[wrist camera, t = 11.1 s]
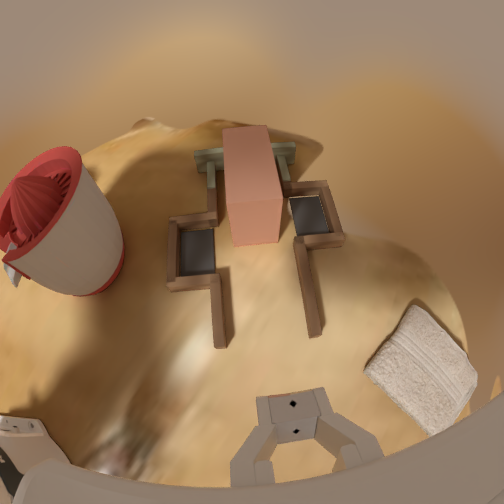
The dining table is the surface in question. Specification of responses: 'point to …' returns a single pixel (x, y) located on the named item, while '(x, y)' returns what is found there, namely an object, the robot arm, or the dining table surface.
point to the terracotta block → (251, 186)
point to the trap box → (201, 242)
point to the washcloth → (424, 372)
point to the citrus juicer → (59, 227)
